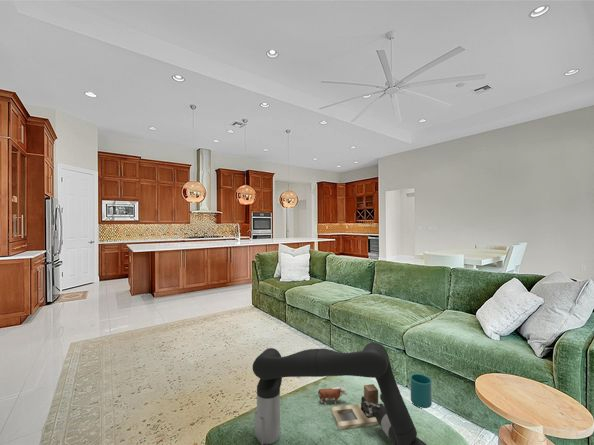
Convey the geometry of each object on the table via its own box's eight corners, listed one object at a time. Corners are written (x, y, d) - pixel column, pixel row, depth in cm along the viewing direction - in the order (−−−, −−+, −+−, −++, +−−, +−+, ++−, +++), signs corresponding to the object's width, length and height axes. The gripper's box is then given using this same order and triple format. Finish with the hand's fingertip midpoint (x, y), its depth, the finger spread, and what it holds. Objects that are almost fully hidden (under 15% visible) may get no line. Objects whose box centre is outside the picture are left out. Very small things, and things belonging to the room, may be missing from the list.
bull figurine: (347, 407, 128) (347, 389, 128) (318, 406, 128) (318, 389, 128) (346, 401, 132) (346, 384, 132) (317, 400, 132) (317, 383, 133)
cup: (423, 393, 138) (423, 370, 139) (435, 408, 126) (435, 384, 127) (405, 393, 138) (405, 370, 139) (415, 409, 126) (415, 384, 127)
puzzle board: (339, 431, 112) (339, 426, 112) (330, 412, 124) (330, 407, 124) (389, 425, 116) (389, 419, 116) (376, 406, 128) (376, 401, 128)
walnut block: (368, 419, 118) (368, 391, 119) (364, 412, 123) (364, 385, 123) (378, 418, 119) (378, 389, 119) (373, 411, 124) (373, 384, 124)
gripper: (407, 410, 106) (386, 386, 122) (372, 415, 103) (356, 390, 119) (408, 430, 106) (386, 404, 122) (373, 435, 103) (356, 408, 119)
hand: (371, 397), depth 121 cm, fingers open, 8 cm apart
